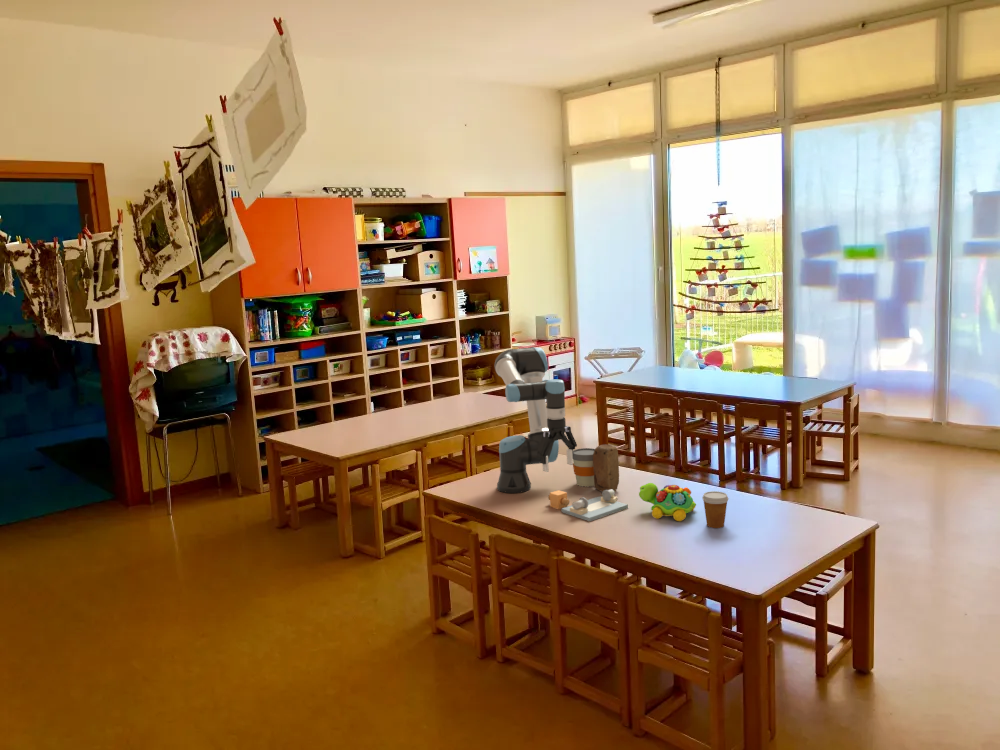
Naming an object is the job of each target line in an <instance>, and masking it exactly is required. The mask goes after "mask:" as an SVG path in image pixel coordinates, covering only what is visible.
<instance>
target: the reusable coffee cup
mask: <svg viewBox="0 0 1000 750" xmlns="http://www.w3.org/2000/svg"><path fill="white" fill-rule="evenodd" d="M594 450H595V448H592V447H591V448H590V447H589V448H588V447H583V448H582V447H581V448H577V449H576V448H575V449H573V465H572V466H573V467H572V469H573V474H574V475H575V479H576V480H575V481H576V485H577V486H578V485H579V486H578V487H583V486H585V488H588V486H590V487H595V486H594V469H593V453H594ZM586 486H587V487H586Z"/></svg>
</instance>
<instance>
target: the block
mask: <svg viewBox="0 0 1000 750" xmlns="http://www.w3.org/2000/svg"><path fill="white" fill-rule="evenodd" d="M594 449H595V450H594V453H593V469H594V486H593V487H594V488H595V489H596V490H598V491H600V492H601V493H602V492H603V491H604V490H610V489H613V490H614V492H616V491H617V490H618V487H619V483H620V467H619V465H620V464H619V462H620V461H619V451H618V448H617V446H614V445H611V444H606V443H603V444H600V445H597V446H596V447H595V448H594Z"/></svg>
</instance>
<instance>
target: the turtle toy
mask: <svg viewBox="0 0 1000 750" xmlns="http://www.w3.org/2000/svg"><path fill="white" fill-rule="evenodd" d="M639 490H640V491H639V492H638V496H639V498H640V499H641V500H642V501H644V502H646V503H651V504H652V506H651V507H650V510H651V516H652V517H653V518H654V519H656V520H659V519H662V517H664V516H665V517H670V516H671V517H672V518H673V519H674V520H675V521H677V522H682V521H684V520H685V519H686V517H687V514H688V513H691V512H693V511H694V510H695V509H696V506H697V504H696V502H695V501H694V499H693V497H692V496H691V494H692V491H691V490H690V488H688V487H687V486H686V487H684V488H683V487H681V486H679V485H677V484H667V485H665V486H664V487H663V488H661V489H660V490H659V488H658V486H657V485H656V484H655V483H653V482H648V483H646V484H643V485H641V486H640V487H639Z"/></svg>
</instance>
